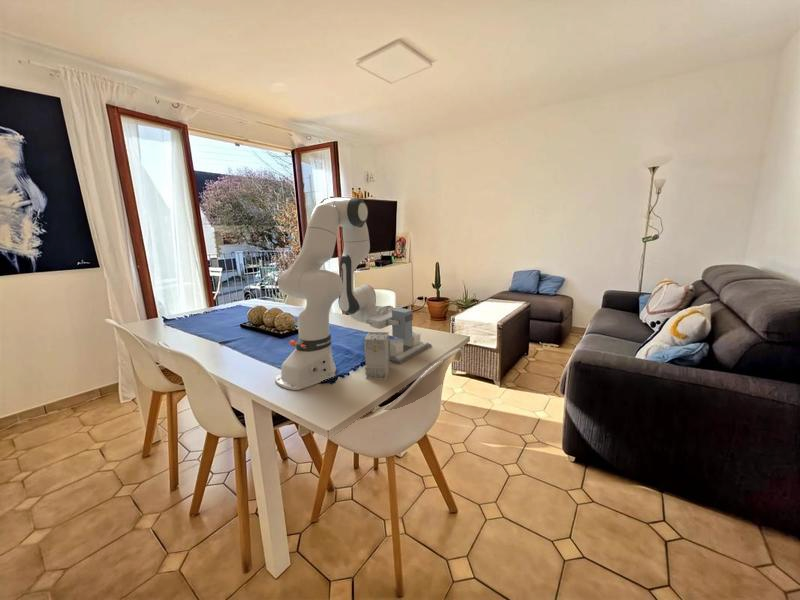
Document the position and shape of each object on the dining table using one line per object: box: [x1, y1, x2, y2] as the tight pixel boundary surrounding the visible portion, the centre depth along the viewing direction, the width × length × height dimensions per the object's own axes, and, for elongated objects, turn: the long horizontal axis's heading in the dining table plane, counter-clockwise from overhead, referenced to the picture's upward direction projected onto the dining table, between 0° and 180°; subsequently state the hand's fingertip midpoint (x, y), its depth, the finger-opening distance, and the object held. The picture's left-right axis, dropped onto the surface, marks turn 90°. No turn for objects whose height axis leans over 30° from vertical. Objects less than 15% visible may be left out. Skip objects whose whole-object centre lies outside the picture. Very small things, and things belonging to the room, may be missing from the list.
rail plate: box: [389, 331, 432, 365], centre depth 143 cm, size 24×14×6 cm, turn 143°
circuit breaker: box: [363, 331, 391, 380], centre depth 123 cm, size 8×14×15 cm, turn 174°
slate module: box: [391, 307, 414, 340], centre depth 141 cm, size 5×8×12 cm, turn 53°
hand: (403, 321), depth 141 cm, fingers closed on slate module, 5 cm apart
